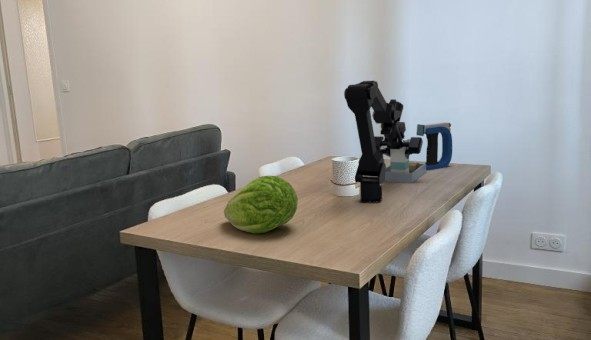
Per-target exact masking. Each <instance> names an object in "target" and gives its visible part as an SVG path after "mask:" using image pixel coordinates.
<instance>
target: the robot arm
mask: <svg viewBox="0 0 591 340" xmlns="http://www.w3.org/2000/svg"><path fill="white" fill-rule="evenodd" d="M343 94H344V95H343V96H344V99H345V102H346V105H347V107H348V109H349V110H350V111H351V112H352V113H353V115H354V118H355V123H356V129H357V134H358V139H359V146H360V150H361V156H360V158H359V160H358V165H357V169H356V171H355V174H354V180H355V183H360V201H359V202H360V203H381V200H383V186H382V183H384V182H386V181H385V172H386V167H387V166H386V162H385V159H384V155H385V157H386V156H387V157H388V158H390V149H400V148H402V147H405V148H406V149H405V153H404V154H405V156H406V158H407V159H409V160H410V155H413V154H416V155H419V154H420V153H421V151H422V148H423V143H424V141H423V140H424V139H423V138H422V136H411V137H410V138H407V140H406V139H405V137H406V136H405V132H406V131H407V128H406V122H405V121H401V118H402V115H403V110H404V104H402V102H399V101H397V99H391V98H390V100H389V102H387V101H386V99H385V97H384V96H383V94H382V92H381V90H380V88H379V84H378V81H376V80H363V81H360V82H359V83H355V84H349V85H347V87H346V88H345V89H344V91H343ZM371 109H372V110H373V112H372V113H371ZM371 114H372V115H371ZM372 120H373V121H374V123H375V124H380V135H381V136H378V135H376V136H375V133H374V127H373V121H372ZM403 139H405V140H403Z"/></svg>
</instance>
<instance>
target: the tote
mask: <svg viewBox="0 0 591 340" xmlns="http://www.w3.org/2000/svg"><path fill="white" fill-rule="evenodd" d="M418 163H419V168H418V169H416V170H415V171H414V172H412V173H395V172H391V169H390V164H388V166H386V172H385V181H384V182H387V183H388V182H389V183H392V182H393V183H406V184H413V183H414V182H416V181H417V180H418V179H419V178H421V177H422V176H423V175H425V174H426V173H427V170H426V164H425V163H421V162H418Z"/></svg>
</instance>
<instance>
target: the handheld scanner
mask: <svg viewBox="0 0 591 340" xmlns="http://www.w3.org/2000/svg"><path fill="white" fill-rule="evenodd" d="M451 127H452V124H451V122H447V121H445V122H436V123H429V124H428V123H427V124H419V123H418V124H417V125H416V136H418V137H424V135H426V136H425V137H426V143H427V145H426V160H425V162H424V164H426V171H433V170H437V169H438V170H439V169H445V168H447V167H448V166H449V164H450V163H451V161H452V158H453V136H452V133H451V130H452V129H451ZM439 134H440V135H441V145H442V146H441V148H442V149H441V156H440V159H439V160H438V157H439V156H438V155H439V154H438V153H439Z"/></svg>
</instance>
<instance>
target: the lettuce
mask: <svg viewBox="0 0 591 340" xmlns="http://www.w3.org/2000/svg"><path fill="white" fill-rule="evenodd" d="M298 199H299V198H298V196H297V192H296V190H295V188H294V187H293V186H292V184H291V183H290V182H288V181H287V180H286V179H283V178H282V177H280V176H277V175H276V176H275V175H262V176H259V177H257V178H255V179H253V180H250V181H249V182H248V183H247V184H246V185H245V186H244V187H243V188H241V189H240V190H238V192H236V193H235V194H234V195H233V196H231V197H230V198H229V200H228V202H227V204H226V205H225V208H224V209H223V214H224V218H226V219H227V221H228V222H229V223H230V224H231V225H232V226H233V227H234V228H236V229H238V230H240V231H243V232H246V233H250V232H251V234H255V233H257V234H263V233H267V232H270V231H271V230H274V229H275V228H278V227H282V226H283V225H287V224H288V223H289V222H290V221H291V220H292V219H293V217H294V216H295V213H296V212H297V208H298V202H299V201H298Z"/></svg>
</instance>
